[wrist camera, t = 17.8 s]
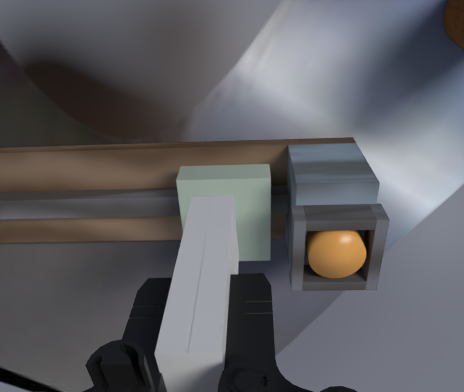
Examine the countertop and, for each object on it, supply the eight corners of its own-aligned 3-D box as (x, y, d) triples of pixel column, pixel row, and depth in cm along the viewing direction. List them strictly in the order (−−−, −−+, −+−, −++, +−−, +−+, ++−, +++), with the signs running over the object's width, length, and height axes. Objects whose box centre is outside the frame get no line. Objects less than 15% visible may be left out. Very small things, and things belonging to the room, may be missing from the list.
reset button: (306, 219, 36) (310, 234, 34) (363, 218, 36) (369, 233, 34) (304, 262, 39) (307, 278, 37) (356, 262, 39) (362, 278, 37)
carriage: (183, 157, 43) (155, 246, 30) (268, 155, 42) (278, 244, 29) (192, 234, 48) (171, 338, 35) (268, 233, 48) (276, 338, 34)
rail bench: (-99, 150, 45) (-205, 210, 35) (356, 137, 43) (393, 197, 32) (-55, 236, 52) (-135, 310, 41) (345, 229, 49) (373, 306, 38)
